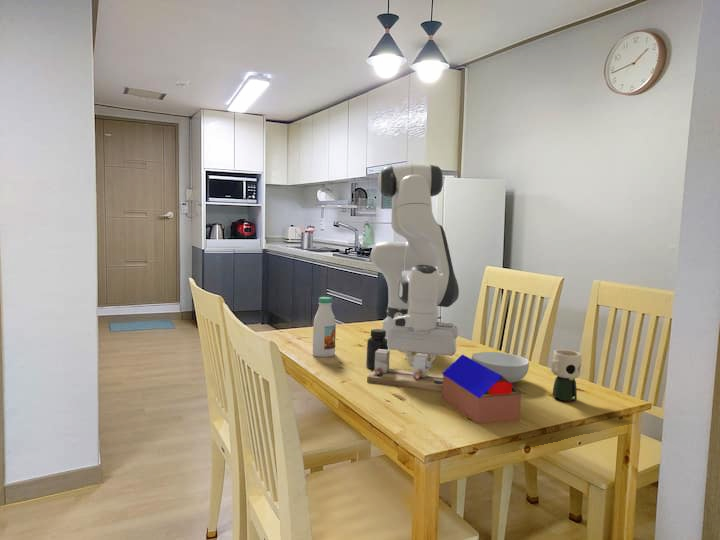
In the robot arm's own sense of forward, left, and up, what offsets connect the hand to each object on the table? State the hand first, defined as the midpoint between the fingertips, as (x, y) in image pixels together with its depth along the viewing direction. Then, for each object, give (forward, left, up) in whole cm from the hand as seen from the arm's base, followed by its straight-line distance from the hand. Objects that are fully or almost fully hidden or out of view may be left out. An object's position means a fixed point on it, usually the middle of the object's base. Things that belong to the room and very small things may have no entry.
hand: (420, 367), depth 158 cm
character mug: (0, +40, -5) cm, 40 cm away
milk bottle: (-16, -37, -5) cm, 41 cm away
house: (+16, +18, -5) cm, 25 cm away
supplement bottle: (-9, -16, -5) cm, 19 cm away
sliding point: (+1, 0, -3) cm, 3 cm away
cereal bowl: (-10, +22, -5) cm, 25 cm away
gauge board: (+1, -1, -4) cm, 5 cm away
